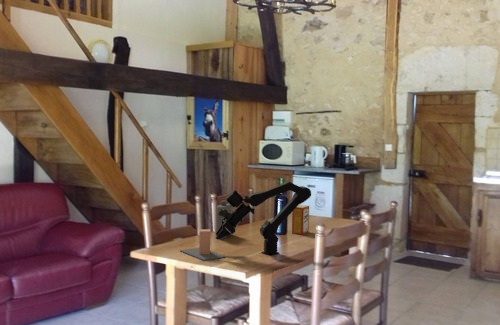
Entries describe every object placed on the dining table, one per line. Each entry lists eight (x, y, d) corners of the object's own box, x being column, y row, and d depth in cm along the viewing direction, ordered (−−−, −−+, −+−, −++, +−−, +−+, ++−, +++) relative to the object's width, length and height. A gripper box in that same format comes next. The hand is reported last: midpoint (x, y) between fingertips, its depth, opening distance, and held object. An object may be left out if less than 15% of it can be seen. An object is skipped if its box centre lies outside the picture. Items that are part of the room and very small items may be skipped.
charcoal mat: (225, 257, 251) (225, 256, 251) (203, 260, 243) (203, 259, 243) (201, 248, 268) (201, 247, 268) (180, 251, 261) (180, 250, 261)
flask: (223, 233, 307) (224, 198, 306) (233, 234, 305) (233, 199, 304) (213, 238, 293) (213, 202, 292) (223, 239, 291) (223, 202, 290)
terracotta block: (210, 251, 259) (210, 229, 258) (209, 254, 254) (210, 231, 253) (199, 251, 258) (199, 229, 258) (199, 254, 253) (199, 231, 253)
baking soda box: (298, 230, 319) (299, 204, 318) (308, 232, 315) (309, 205, 314) (291, 233, 310) (292, 206, 309) (302, 234, 307) (302, 207, 306)
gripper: (227, 199, 264) (204, 221, 264) (228, 205, 246) (204, 228, 246) (242, 215, 266) (220, 237, 265) (245, 222, 247) (221, 245, 247)
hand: (216, 236), depth 256 cm, fingers open, 9 cm apart
